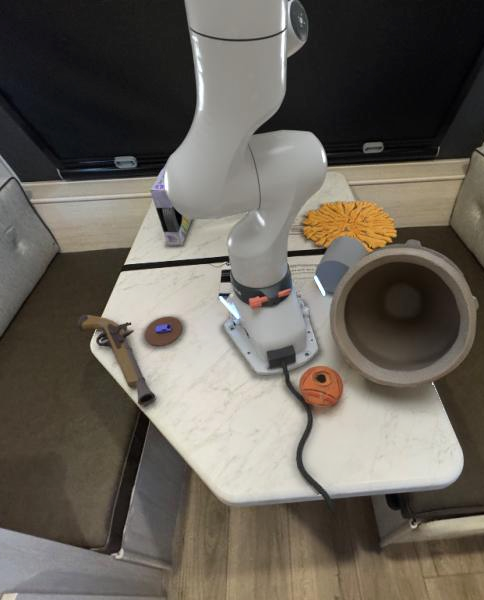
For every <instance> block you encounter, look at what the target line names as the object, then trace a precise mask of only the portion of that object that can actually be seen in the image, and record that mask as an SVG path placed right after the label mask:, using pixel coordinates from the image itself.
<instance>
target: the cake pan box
mask: <svg viewBox="0 0 484 600" xmlns="http://www.w3.org/2000/svg"><path fill="white" fill-rule="evenodd" d="M165 166H166V164H165V165H164V167H163V168H162V169H161V170H160V172H159V174H158V176H157V179H156V180H155V182H154V183H153V185H152V187H151V188H150V191H149V192H150V194H151V198H152V200H153V204H154V207H155V210H156V213H157V216H158V219H159V222H160V225H161V229H162V232H163V235H164V238H165V241H166V245H167V246H171V247H172V246H181V247H182V246H183V245H184V242H185V240H186V236H187V234H188V231H189V228H190V226H191V223H192V220H193V219H188V218H186V217H184V216H183V215H181V214H180V213H179V212H178V211H177V210H176V209H175V208H174V207H173V205H172V204H171V202H170V201H169V199H168V197H167V194H166V192H165V188H164V178H163V177H164V170H165Z"/></svg>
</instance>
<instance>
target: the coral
mask: <svg viewBox="0 0 484 600" xmlns="http://www.w3.org/2000/svg"><path fill="white" fill-rule="evenodd" d="M377 206H378V203H375V202H372V203H371V202H370V201H369V202H368V201H366V200H364V201H363V202H362V201H360V200H356V201H354V200H353V201H349V202H348V203H347V201H344V200H343V201H342V202H341V201H340V200H338V201H337V203H336V202H334V203H333V202H329V203H328V202H327V203H326V202H324V203H321V207H319V209H318V208H317V209H316V211H315V210H314V209H312V210H309V211H308V212H307V213H305V215H304V216H305V217H307V218H305V219H304V220H302V223H301V224H303V225H306V226H304V227H303V228H302V232H303V236H305V237H306V239H307V240H312V241H314V244H315V246H318V247H322V246H323V247H324V248H325V249H327V248H328V247H329V245H330V243H331V242H332V241H333V240H334V239H336V238H338V237H342V236H348V237H352V238H355V239H357V240H359V241H360V242H361V243H362V244H363V245H364V247H365V248H366V250H367V253H369V252H371V251H373V250H375V249H378V248H381V247H384V246H387V244H393V238H397V236H398V234H397V232H398V231H397V230H396V227H395V223H394V222H395V219H394V218H392V217H389V213H388V212H385V211H384V207H382V206H379V207H377ZM345 230H346V231H345Z"/></svg>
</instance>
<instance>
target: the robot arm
mask: <svg viewBox="0 0 484 600" xmlns="http://www.w3.org/2000/svg"><path fill="white" fill-rule="evenodd" d="M302 4H303V3H301V1H299V0H184V7H185V13H186V21H187V26H188V32H189V39H190V46H191V52H192V60H193V64H194V65H193V66H194V67H193V69H194V77H195V87H196V105H195V111H194V115H193V119H192V123H191V125H190V127H189V130H188V132H187V134H186V136H185V138H184V139H183V141H182V142H181V144H180V145H179V146H178V147H177V148H176V150H175V151H174V152H173V153H171V154H170V156H169V157H168V159H167V161H166V163H165V165H166V166H165V165H164V167H165V170H164V177H163V178H164V188H165V192H166V194H167V197H168V199H169V201H170V202H171V204H172V205H173V207H174V208H175V209H176V210H177V211H178V212H179V213H180V214H181V215H183V216H184V217H186V218H188V219H192V220H218V219H224V218H228V217H232V216H237V215H241V214H245V215H244V216H243V217H241V219H240V220H238V221H237V222H236V223H235V224H234V225H233V226H232V227H231V230H230V231H229V233H228V236H227V240H226V249H227V254H228V260H229V266H230V270H229V279H230V280H229V281H230V285H231V288H232V289H231V291H230V293H229V295H228V297H227V298H226V299H227V301H226V300H225V299H224V298H223V296H219V299H220V302H222V303H223V305H224V306H225V307H226V308H227V309H228V311H229V317H230V318H228V319H227V321H225V323H224V331H225V332H226V334H227V335H228V337H229V338H230V339H231V341H232V342H233V344H234V345H235V346H236V348H237V349H238V351H239V352H240V354H241V356H243V358H244V360H245V361H246V362H247V364H248V365H249V366H250V368H251V370H252V371H253V372H254V373H255V374H256V375H259V376H273V375H278V374H283V375H284V382H285V384H286V386H287V389H288V390H289V392H291V394H293V395H294V396H295V398H297V399H298V401H300V403H301V404H302V405H303V407H304V409H305V410H306V414H307V423H306V427H305V430H304V431H303V433H302V436H301V438H300V440H299V442H298V444H297V448H296V455H295V456H296V464H297V468H298V470H299V472H300V474H301V475H302V477H303V478H304V479H305V480H306V482H307V483H309V485H311V486H312V487H313V488H314V489H315V490H316V491H317V492H318V493H319V494H320V496H322V498H323V499H324V501H325V504H326V505H327V509H328V510H329V511H331V512H333V511H335V505H334V502H333V500H332V498H331V497H330V495H329V493H328V492H327V490H325V488H324V487H323V486H322V485H321V484H320V483H318V481H317V480H315V479H314V477H312V476H311V475H310V474H309V472H308V471H307V470H306V468H305V466H304V463H303V449H304V446H305V444H306V441H307V440H308V437H309V435H310V433H311V430H312V428H313V423H314V421H313V420H314V416H313V415H314V414H313V411H312V408H311V405H309V404H310V403H309V404H307V403H306V402H305V399H304V397H303V396H302V394H301V393H300V392H298V391H297V390H296V388H295V387H294V385H293V384H292V382H291V379H290V378H291V377H290V373H289V371H292V370H295V369H298V368H300V367H302V366H304V365H305V364H307V363H309V362H310V361H311V360H313V359H314V358H315V357H316V355H317V354H318V353H319V345H318V342H317V339H316V336H315V334H314V331H313V330H314V329H313V327H312V324H311V321H310V318H309V317H311V316H310V315H311V314H310V309H309V307H308V306H305V302H304V301H303V299H300V298H302V294H301V293H302V292H301V291H300V290H298V291H296V290H297V289H296V286H295V283H294V278H292V275H293V274H292V271H291V268H290V263H289V262H288V251H289V250H288V249H289V248H288V247H289V237H290V232H291V230H292V227H293V226H294V225H293V224H294V223H295V220H296V219H297V217H298V214H299V213H300V212H301V210H302V209H303V207H304V206H305V205H306V203H307V202H308V201H309V200H310V199H311V198H312V197H313V196H314V195H315V194H316V193H318V192H319V191H320V190H321V188H322V186H323V185H324V183H325V180H326V178H327V177H326V176H327V173H328V158H327V154H326V153H327V152H326V150H325V148H324V145H323V144H322V142H321V140H320V139H319V138H318V137H317V136H316V135H315V134H314V133H313V132H311V131H306V130H297V129H296V130H295V129H294V130H293V129H292V130H291V129H280V130H279V129H278V130H275V131H269V132H262V133H257V134H255V132H256V131H257V130H258V129H259V128H260V127H261V126H262V125H264V124H265V123H266V122H267V121H268V120H270V119H271V118H272V117H273V116H274V115H275V114H276V113H277V112H278V110H279V109H280V107H281V105H282V103H283V101H284V98H285V96H286V92H287V73H288V72H287V69H288V58H289V57H291V56H292V55H294V54H295V53H296V52H298V51H299V50H300V49H301V48H302V47H303V46H304V45H305V43H306V42H307V40H308V36H309V19H308V16H307V13H306V10H305V7H304V6H303V5H302ZM314 280H315V283H316V285H317V286H318V288H319V290H320V292H321V294H322V296H324V297H325V296H326V290H325V289H324V288H323V287H322V286H321V284H320V282H319V280H318V278H317V277H316V275H314Z"/></svg>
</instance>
